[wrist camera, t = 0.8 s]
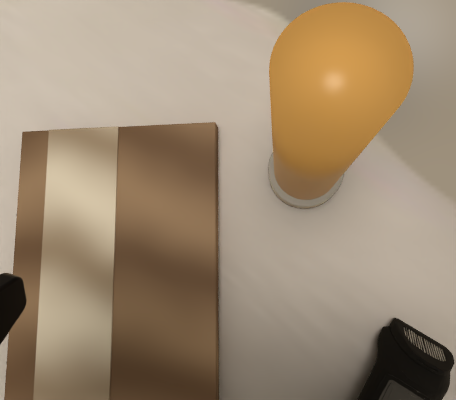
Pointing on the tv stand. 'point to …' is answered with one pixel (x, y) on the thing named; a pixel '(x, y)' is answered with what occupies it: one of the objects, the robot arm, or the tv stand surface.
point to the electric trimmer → (408, 366)
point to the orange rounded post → (331, 96)
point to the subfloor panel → (117, 265)
